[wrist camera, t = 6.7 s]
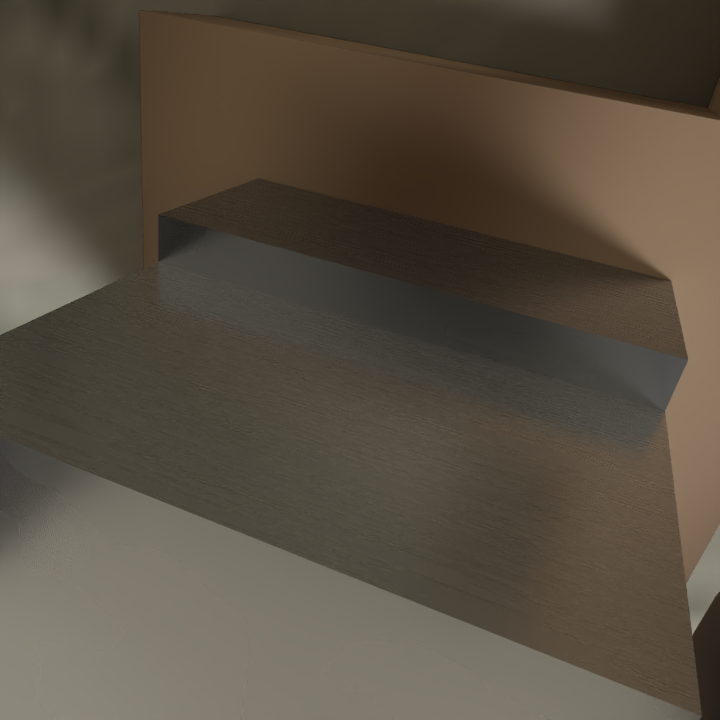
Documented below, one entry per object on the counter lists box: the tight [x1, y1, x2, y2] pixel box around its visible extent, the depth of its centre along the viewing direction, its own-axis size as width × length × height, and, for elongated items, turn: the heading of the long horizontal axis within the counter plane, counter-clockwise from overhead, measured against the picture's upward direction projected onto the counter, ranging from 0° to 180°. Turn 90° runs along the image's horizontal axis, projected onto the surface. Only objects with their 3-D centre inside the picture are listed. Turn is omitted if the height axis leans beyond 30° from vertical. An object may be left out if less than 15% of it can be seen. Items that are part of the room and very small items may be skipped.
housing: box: [0, 178, 702, 720], centre depth 8 cm, size 6×6×6 cm
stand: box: [139, 10, 720, 583], centre depth 11 cm, size 10×10×2 cm
